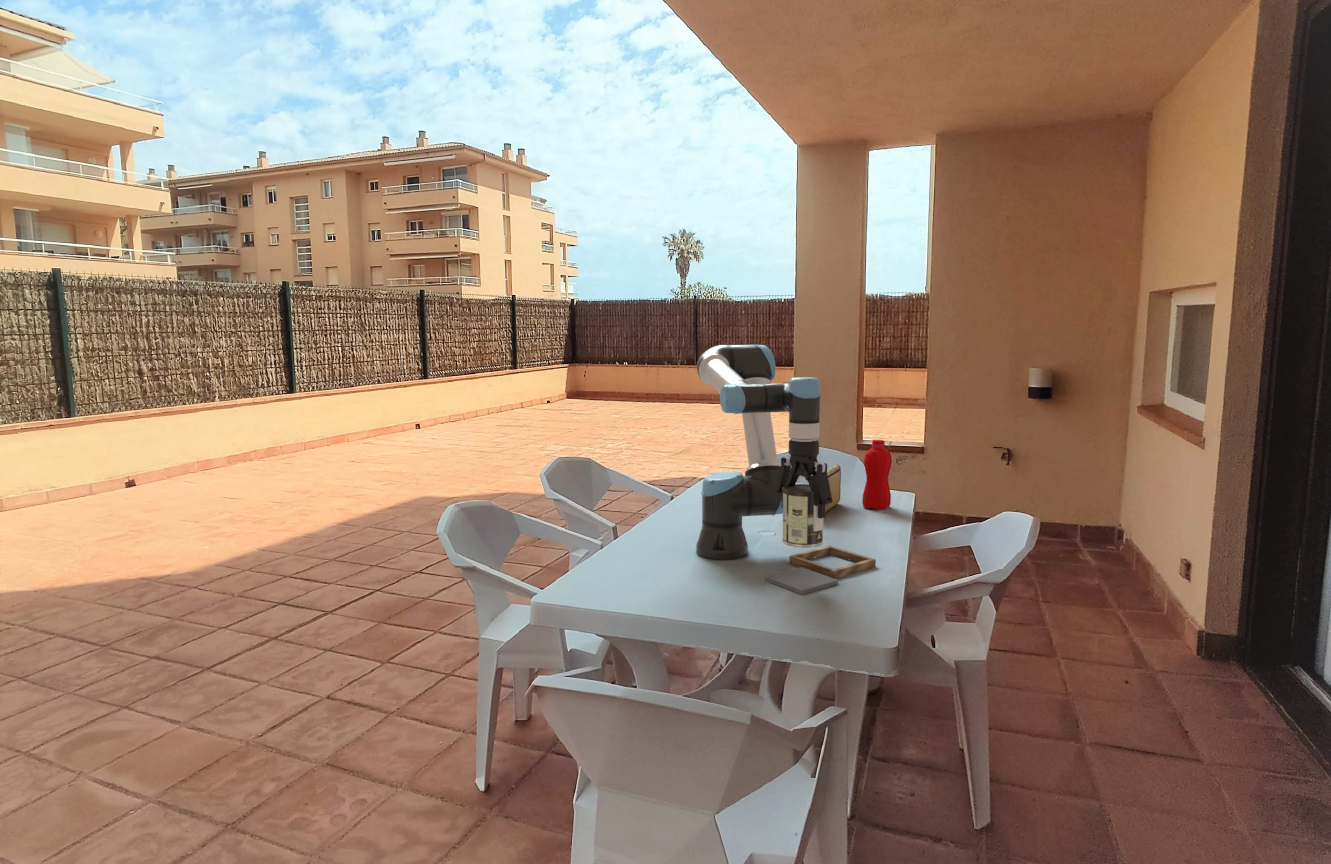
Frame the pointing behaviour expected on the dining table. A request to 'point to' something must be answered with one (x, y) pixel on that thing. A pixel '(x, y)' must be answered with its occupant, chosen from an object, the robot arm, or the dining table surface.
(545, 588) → the dining table surface
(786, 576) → the mat
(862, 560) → the frame
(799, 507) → the coffee can
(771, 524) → the dining table surface
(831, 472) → the clutch purse
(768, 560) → the dining table surface
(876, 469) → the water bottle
